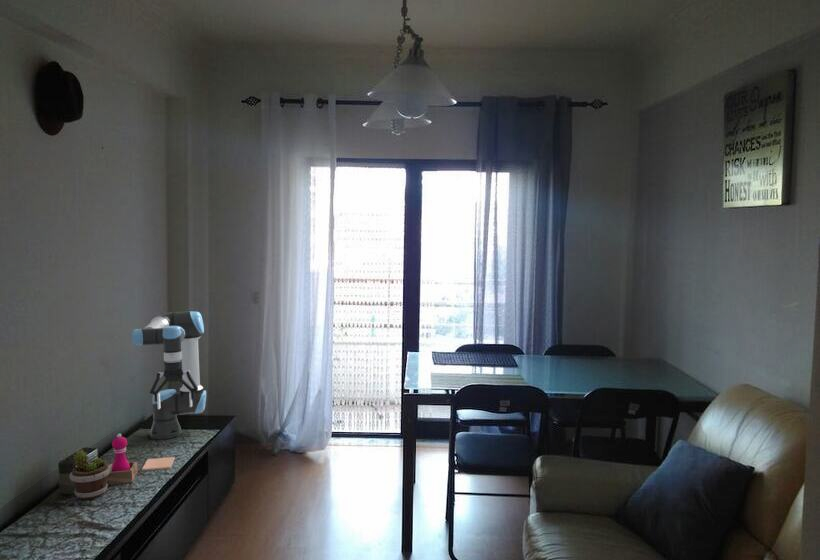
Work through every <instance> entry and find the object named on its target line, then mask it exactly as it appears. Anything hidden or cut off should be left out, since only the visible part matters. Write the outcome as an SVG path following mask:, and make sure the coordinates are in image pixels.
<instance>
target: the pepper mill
mask: <svg viewBox="0 0 820 560" xmlns="http://www.w3.org/2000/svg"><path fill="white" fill-rule="evenodd" d="M111 446H112V448H113V453H114V460H113V463H112V464H113V466H112V472H115V471H127V470H130V465H129V462H130V461H128V459H127V457H126V451H127V446H128V440H127V438H126V437H124V436H122V433H118V434H117V435H116V437H115V438H113V440H112V441H111Z"/></svg>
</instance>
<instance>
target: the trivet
mask: <svg viewBox="0 0 820 560" xmlns="http://www.w3.org/2000/svg"><path fill="white" fill-rule="evenodd" d="M175 459H176V458H175V456H172V457H171V456H170V457H159V458H148V459H146V461H145V462H144V464H143V467H142V469H141V471H142V472H144V471H153V470H154V471H155V470H165V469H167V470H168V469H171V468H172V466H173V463H174V461H175Z"/></svg>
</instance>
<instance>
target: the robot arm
mask: <svg viewBox="0 0 820 560" xmlns="http://www.w3.org/2000/svg"><path fill="white" fill-rule="evenodd" d="M204 333H205V326H204V321H203V317H202V314H201V313H200V312H199V311H191V310H190V311H176V312H174V311H173V312H171V311H169V312H166V313H162V314H159V315H158V316H155V317H154V318H152V319H151V320H150V322H149V324H147V325H146V326H145V327H144V328H136V329H133V331H132V333H131V339H132V340H131V341H132V344H133V345H134V346H139V347H142V346H156V345H158V346H160V345H163V361H164V362H163V367H164V369H163V370H164V372H161V371H157V373H156V379H155V380H154V382H153V385H152V387H151V389H150V390H149V394H151V395H152V402H151V404H152V420H153V421H152V425H151V428H150V434H149V435H150V438H151V439H153V440H167V439H173V438H176V437H178V436H180V435H181V434H182V428H181V425H180V423H179V421H178V415H190V414H191V415H196V414H202V413H203V412H204V411H205V408H206V401H207V390H205V389H204V386H203V385H201V378H200V377H201V376H200V375H201V374H200V373H201V372H200V360H199V359H200V356H199V355H200V354H199V350H200V349H199V340H200V338H202V334H204ZM163 376H164V378H165V379H164V381H162V383H161V384H160V385H159V387H158V388H157V385H158V383H159V382H160V380H161V378H162V377H163ZM168 382H170V383H172V382H175V383H177V382H180V383H181V384H182V386H181V387H180V388H179V392H177V390H176V389H175V388H171V389H170V388H169V389H164V390H162V389H163V387H164V386H165V385H166V384H167V383H168ZM156 388H157V389H156Z"/></svg>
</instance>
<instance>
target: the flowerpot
mask: <svg viewBox="0 0 820 560" xmlns="http://www.w3.org/2000/svg"><path fill="white" fill-rule="evenodd" d="M89 457H90V456H89V455H88V452H86V451H84V450H81V449H80V448H78V449H76V451H75V454H74V455H73V457H72V458H73V459H72V462H74V463H73V466H75V467H76V466H77V467H76V468H75V467H74V468H72V471H71V472H70V473H69V477H68V479H70V481H71V482H72V483H73V486H74V488H75V489H74V495H75V496H76V497H77V498H78V499H79V498H80V500H82V499H87V500H93V499H94V498H95V497H97V498H99V496H100V497H101V495H102V496H103V495H105V492H106V491H108V490H107V489H108V486H109V484H107V483H106V482H107V477H108V474H109V473H110V469H111V468H110V466H109V465H110V464H108V463H107V462H106V461H103V459H102V458H101V457H98V456H94V458H93V459H92V460H91V461H89ZM92 498H93V499H92ZM95 499H96V498H95Z"/></svg>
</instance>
